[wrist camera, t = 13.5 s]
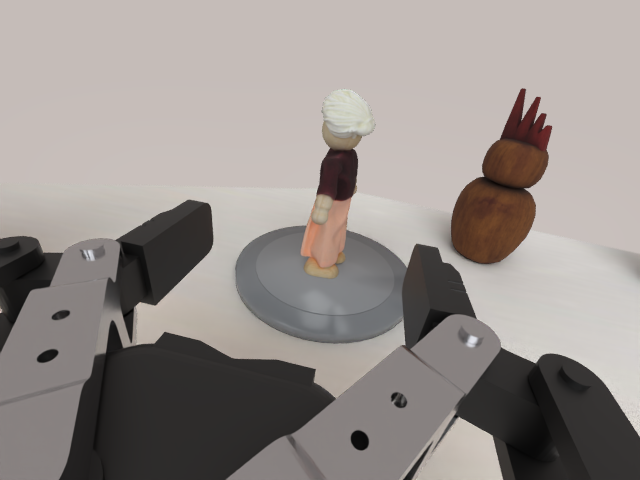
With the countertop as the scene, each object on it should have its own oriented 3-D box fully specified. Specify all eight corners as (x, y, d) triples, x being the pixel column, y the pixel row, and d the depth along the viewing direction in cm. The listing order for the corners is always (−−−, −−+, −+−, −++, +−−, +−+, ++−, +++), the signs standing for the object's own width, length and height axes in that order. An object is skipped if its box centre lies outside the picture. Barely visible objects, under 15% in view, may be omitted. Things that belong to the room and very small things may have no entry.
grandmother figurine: (309, 238, 27) (326, 83, 21) (350, 246, 27) (381, 91, 21) (287, 290, 21) (303, 87, 14) (341, 302, 20) (382, 98, 14)
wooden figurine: (434, 234, 33) (487, 84, 26) (483, 239, 34) (549, 92, 26) (461, 270, 27) (539, 89, 20) (520, 275, 28) (618, 99, 20)
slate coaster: (198, 313, 19) (197, 303, 19) (271, 222, 31) (271, 214, 31) (418, 366, 18) (423, 356, 17) (405, 249, 30) (408, 241, 29)
